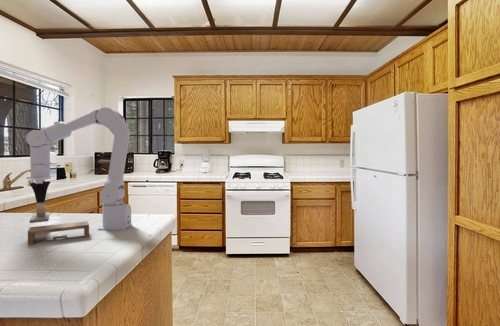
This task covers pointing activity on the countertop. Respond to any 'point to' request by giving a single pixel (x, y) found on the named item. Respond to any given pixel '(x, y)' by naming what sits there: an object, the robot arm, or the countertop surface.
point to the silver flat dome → (60, 237)
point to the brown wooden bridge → (57, 229)
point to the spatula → (40, 213)
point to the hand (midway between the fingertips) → (40, 202)
